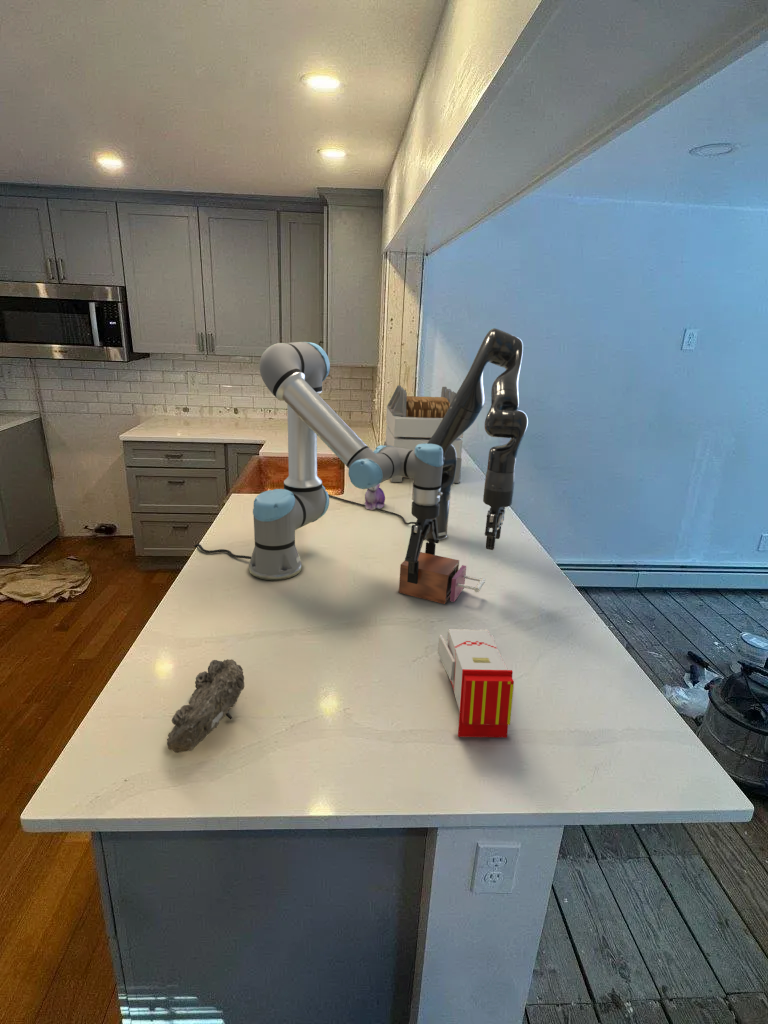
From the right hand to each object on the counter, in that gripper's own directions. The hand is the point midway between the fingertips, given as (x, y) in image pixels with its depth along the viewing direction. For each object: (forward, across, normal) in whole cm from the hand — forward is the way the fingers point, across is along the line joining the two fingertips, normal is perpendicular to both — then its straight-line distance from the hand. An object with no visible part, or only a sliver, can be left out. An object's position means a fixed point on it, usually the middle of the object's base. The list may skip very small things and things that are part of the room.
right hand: (492, 543), depth 154 cm
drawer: (+15, -4, +10) cm, 19 cm away
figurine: (+15, +55, +56) cm, 80 cm away
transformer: (+15, +111, +55) cm, 125 cm away
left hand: (+11, -4, +18) cm, 22 cm away
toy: (+16, -44, -5) cm, 47 cm away
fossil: (+16, -72, +38) cm, 83 cm away
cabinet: (+16, -4, +16) cm, 23 cm away
